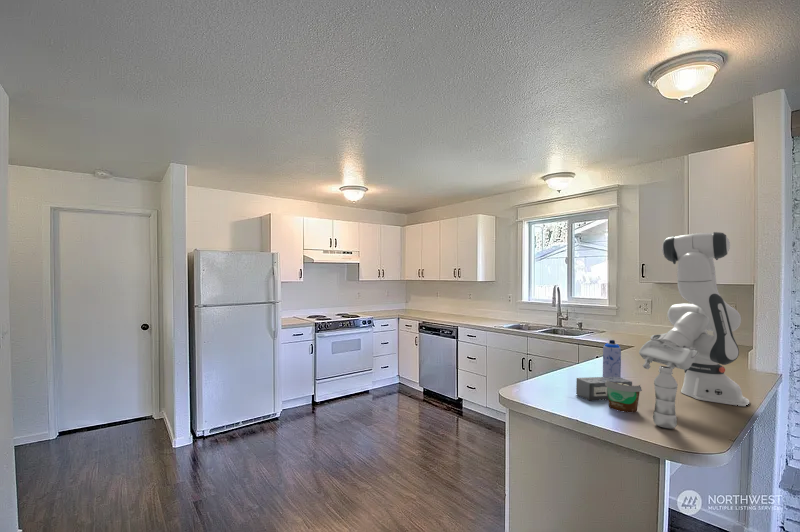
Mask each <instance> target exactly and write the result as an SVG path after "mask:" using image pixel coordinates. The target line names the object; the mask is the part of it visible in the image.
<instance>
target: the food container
mask: <svg viewBox="0 0 800 532" xmlns="http://www.w3.org/2000/svg"><path fill="white" fill-rule="evenodd" d="M605 385H606V386H607V391H608V400H607V401H608V407H609V408H610V409H612V410H614V411H617V410H618V412H621V411H624V412H623V413H628V412H633V413H636V411H637V412H638V407H639V400H640V392H642V390H643V389H642V386H641V384H639V385H632V386H631V385H628V384H625V383H615V382H609V381H608V380H606V383H605Z"/></svg>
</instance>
